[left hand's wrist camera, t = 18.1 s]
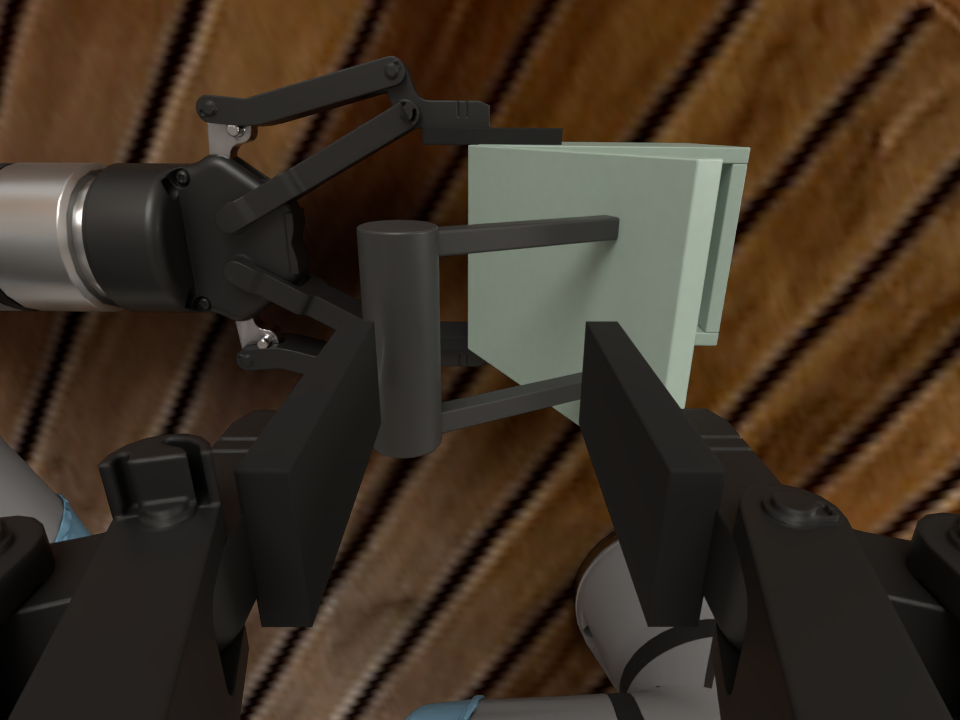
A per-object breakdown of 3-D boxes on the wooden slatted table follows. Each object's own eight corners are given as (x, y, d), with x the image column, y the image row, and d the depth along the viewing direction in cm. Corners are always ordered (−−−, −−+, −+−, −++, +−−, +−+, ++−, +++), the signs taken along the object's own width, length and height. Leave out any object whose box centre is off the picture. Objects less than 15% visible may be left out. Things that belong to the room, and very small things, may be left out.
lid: (724, 158, 15) (398, 164, 11) (675, 470, 19) (414, 559, 15) (487, 144, 26) (276, 145, 22) (484, 346, 30) (302, 378, 26)
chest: (687, 143, 34) (751, 147, 26) (666, 299, 38) (716, 346, 30) (478, 140, 34) (477, 144, 26) (477, 298, 38) (476, 343, 30)
